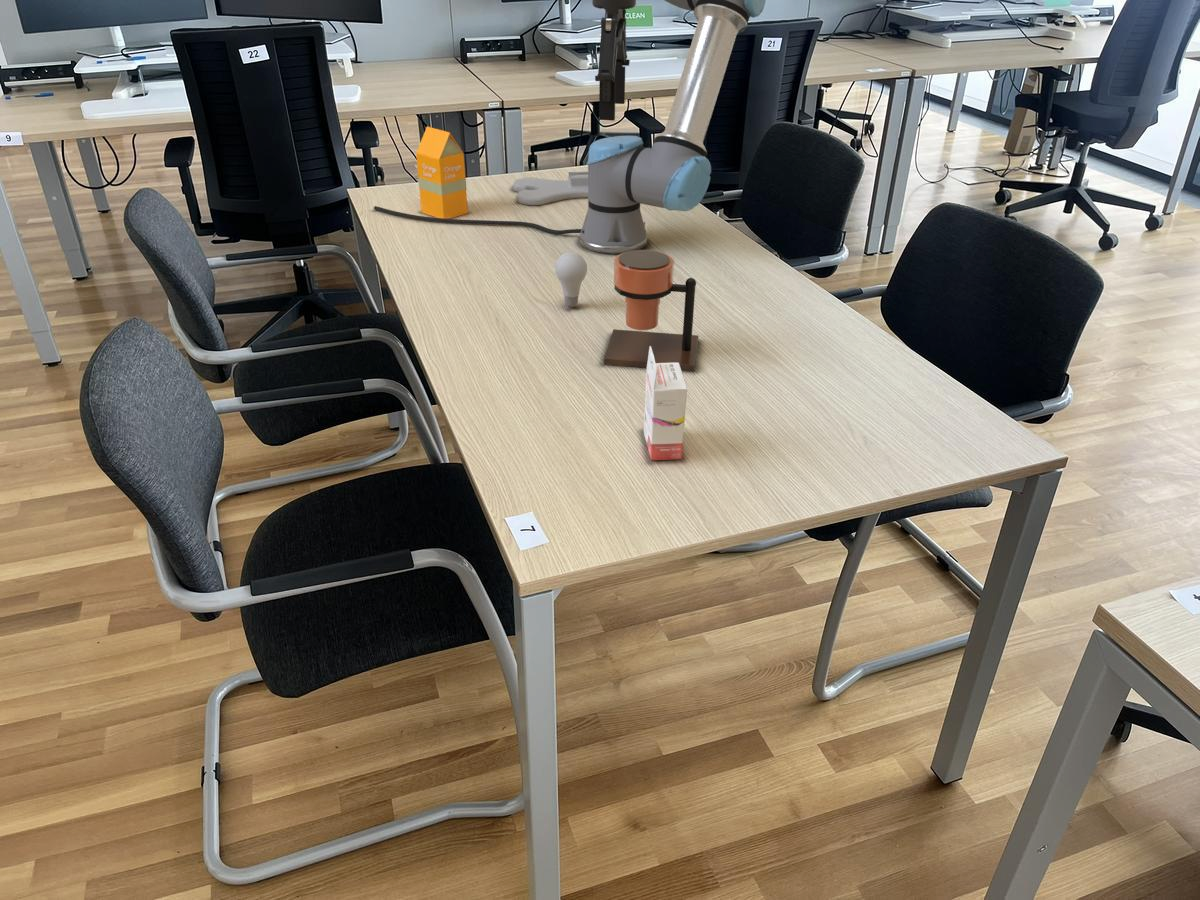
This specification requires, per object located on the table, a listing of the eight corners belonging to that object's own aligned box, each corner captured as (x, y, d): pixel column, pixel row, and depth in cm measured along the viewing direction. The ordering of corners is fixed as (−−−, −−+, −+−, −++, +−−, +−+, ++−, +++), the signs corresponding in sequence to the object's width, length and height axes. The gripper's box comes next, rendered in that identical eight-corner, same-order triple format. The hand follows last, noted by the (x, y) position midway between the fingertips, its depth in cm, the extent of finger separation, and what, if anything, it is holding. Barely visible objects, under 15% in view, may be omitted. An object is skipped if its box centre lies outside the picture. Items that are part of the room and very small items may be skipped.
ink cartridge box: (683, 460, 133) (690, 370, 126) (649, 461, 133) (654, 371, 125) (674, 429, 141) (680, 342, 133) (642, 430, 140) (646, 343, 132)
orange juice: (443, 220, 222) (436, 135, 211) (420, 212, 227) (413, 128, 216) (468, 212, 227) (463, 129, 216) (445, 205, 232) (439, 123, 221)
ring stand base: (603, 364, 159) (603, 358, 158) (613, 335, 169) (613, 329, 168) (694, 371, 157) (694, 365, 156) (698, 341, 167) (698, 335, 166)
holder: (650, 200, 236) (651, 181, 234) (518, 206, 231) (517, 187, 228) (635, 179, 252) (635, 161, 249) (511, 185, 247) (510, 166, 244)
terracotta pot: (601, 325, 159) (602, 260, 153) (635, 307, 166) (638, 244, 160) (648, 341, 154) (651, 274, 148) (681, 321, 161) (685, 257, 154)
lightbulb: (592, 304, 180) (592, 250, 174) (578, 316, 176) (578, 261, 170) (564, 298, 183) (563, 245, 177) (550, 310, 178) (549, 255, 172)
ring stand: (610, 355, 159) (611, 284, 152) (617, 332, 167) (619, 263, 160) (689, 361, 157) (694, 289, 150) (693, 337, 165) (698, 268, 158)
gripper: (627, -10, 146) (623, 128, 158) (644, -25, 167) (640, 97, 178) (580, -11, 147) (580, 126, 158) (603, -26, 168) (602, 96, 179)
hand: (612, 111), depth 168 cm, fingers open, 13 cm apart
